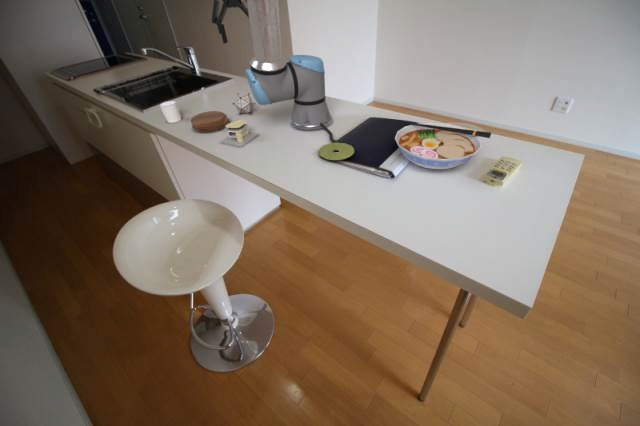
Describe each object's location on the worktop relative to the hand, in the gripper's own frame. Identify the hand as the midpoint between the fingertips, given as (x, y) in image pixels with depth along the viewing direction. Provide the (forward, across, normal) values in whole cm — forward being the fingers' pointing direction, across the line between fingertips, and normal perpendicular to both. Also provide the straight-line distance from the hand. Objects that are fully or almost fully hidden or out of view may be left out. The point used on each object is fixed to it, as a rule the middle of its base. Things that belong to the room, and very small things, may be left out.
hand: (240, 42), depth 120 cm
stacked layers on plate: (+24, -10, +40) cm, 48 cm away
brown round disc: (+24, +7, +29) cm, 38 cm away
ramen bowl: (+25, -75, +52) cm, 94 cm away
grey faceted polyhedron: (+24, -3, +16) cm, 29 cm away
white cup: (+24, +26, +24) cm, 43 cm away
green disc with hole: (+25, -46, +50) cm, 72 cm away
